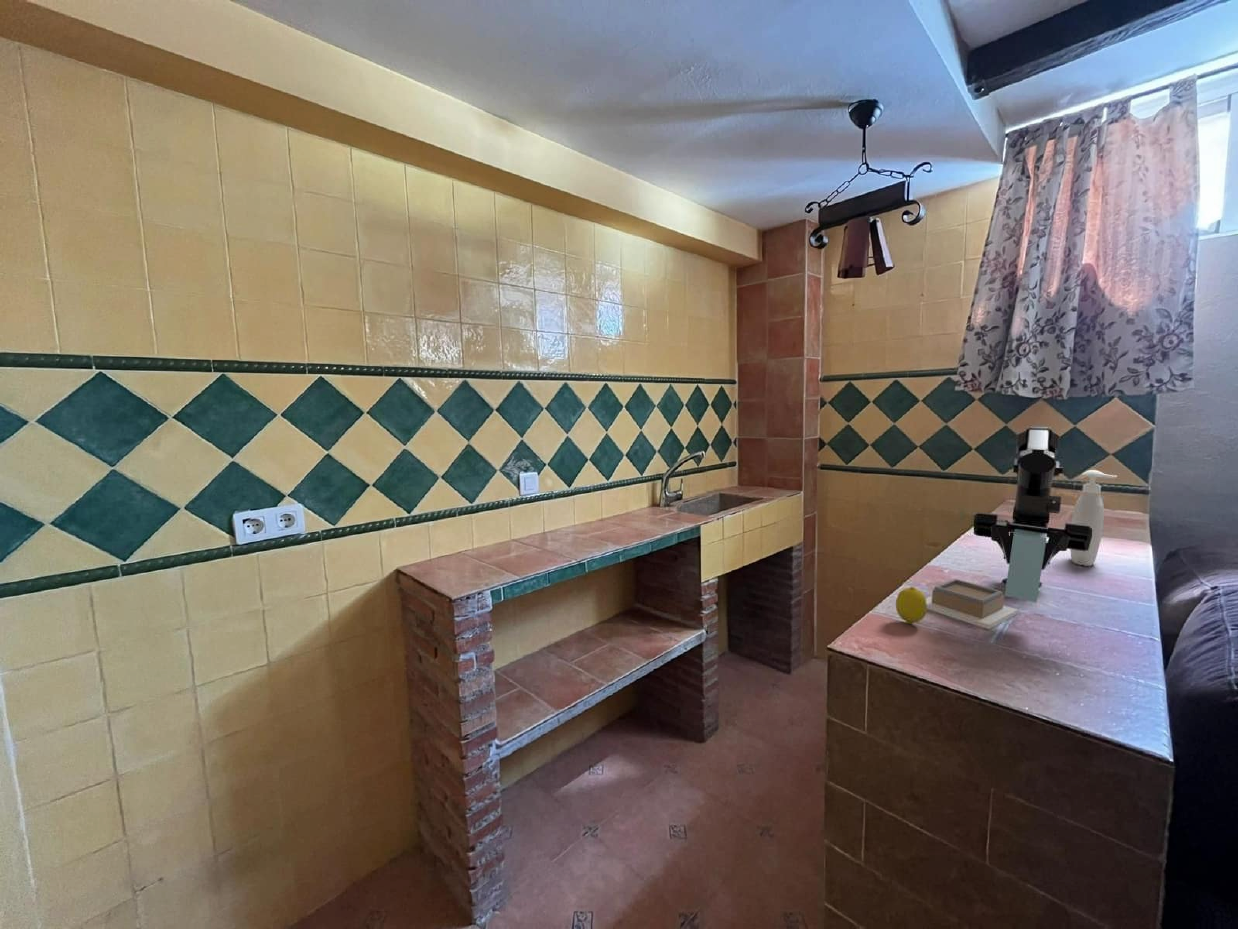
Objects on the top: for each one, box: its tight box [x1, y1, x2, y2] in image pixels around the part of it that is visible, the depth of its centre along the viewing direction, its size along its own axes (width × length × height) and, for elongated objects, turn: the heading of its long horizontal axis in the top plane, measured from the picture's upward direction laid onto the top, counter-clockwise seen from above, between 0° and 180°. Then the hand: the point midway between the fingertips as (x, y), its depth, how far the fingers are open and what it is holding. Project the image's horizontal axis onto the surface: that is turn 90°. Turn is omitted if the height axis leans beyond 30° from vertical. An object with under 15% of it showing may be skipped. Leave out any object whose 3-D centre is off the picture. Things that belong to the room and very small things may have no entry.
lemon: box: [895, 586, 928, 625], centre depth 104 cm, size 6×6×8 cm
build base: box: [925, 578, 1018, 630], centre depth 111 cm, size 14×14×5 cm
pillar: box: [1004, 529, 1048, 603], centre depth 102 cm, size 5×5×13 cm
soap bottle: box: [1069, 469, 1118, 567], centre depth 143 cm, size 14×8×27 cm, turn 139°
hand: (1025, 565), depth 101 cm, fingers closed on pillar, 5 cm apart
